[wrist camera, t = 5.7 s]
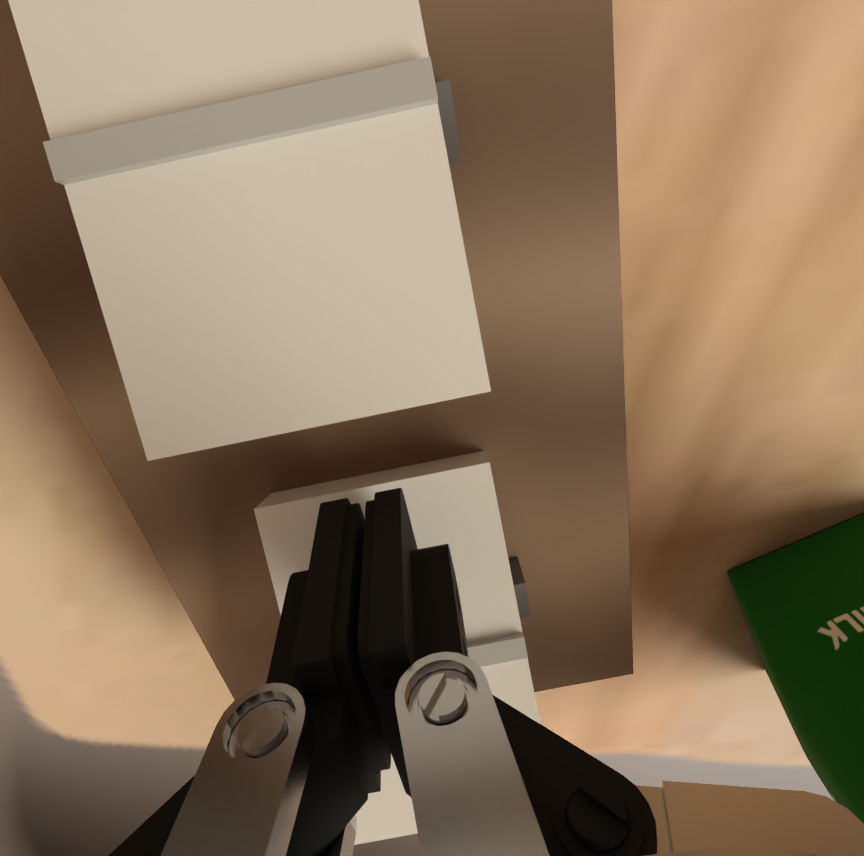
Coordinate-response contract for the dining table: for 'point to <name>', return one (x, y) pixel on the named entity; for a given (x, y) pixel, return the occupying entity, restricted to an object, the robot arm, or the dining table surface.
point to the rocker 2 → (474, 569)
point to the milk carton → (815, 647)
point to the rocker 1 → (259, 208)
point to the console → (423, 425)
